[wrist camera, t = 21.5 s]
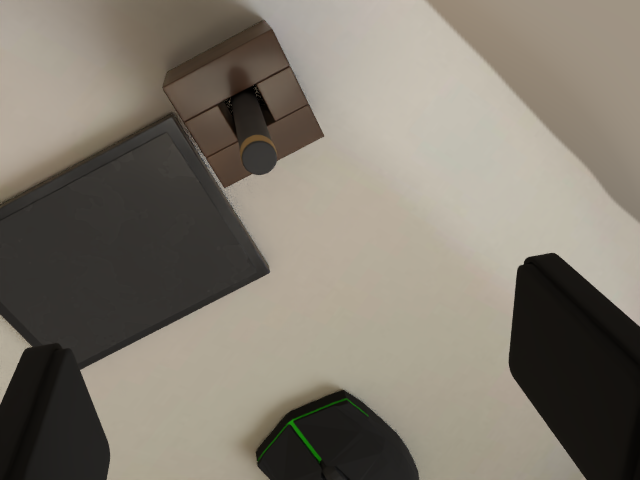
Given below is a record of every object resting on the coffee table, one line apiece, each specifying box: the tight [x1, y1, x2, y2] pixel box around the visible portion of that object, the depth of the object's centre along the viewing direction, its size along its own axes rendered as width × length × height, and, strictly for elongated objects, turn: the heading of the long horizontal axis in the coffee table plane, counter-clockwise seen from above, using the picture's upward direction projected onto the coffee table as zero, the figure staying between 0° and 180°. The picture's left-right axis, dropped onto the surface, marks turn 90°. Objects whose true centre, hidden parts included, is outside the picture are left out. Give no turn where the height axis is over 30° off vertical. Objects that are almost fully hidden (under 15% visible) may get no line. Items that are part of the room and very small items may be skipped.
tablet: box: [0, 113, 270, 370], centre depth 35 cm, size 12×16×1 cm
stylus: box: [230, 86, 277, 175], centre depth 27 cm, size 1×1×12 cm
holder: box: [162, 20, 324, 188], centre depth 31 cm, size 6×6×4 cm
